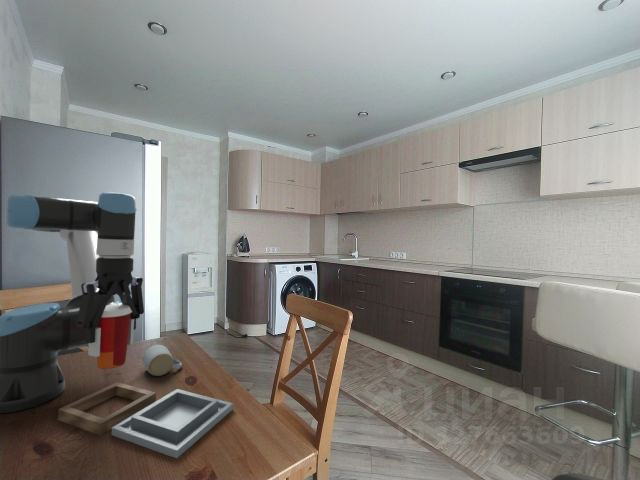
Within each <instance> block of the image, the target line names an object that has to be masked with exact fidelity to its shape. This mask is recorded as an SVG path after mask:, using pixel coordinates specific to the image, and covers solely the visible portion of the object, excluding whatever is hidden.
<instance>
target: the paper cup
mask: <svg viewBox="0 0 640 480" xmlns="http://www.w3.org/2000/svg"><path fill="white" fill-rule="evenodd" d="M131 312H132V310H131V309H130V307H129V306H128V305H122V304H118V305H107V306H106V307H105V309H104V312H103V314H102V316H101V319H100V321H99V324H98V326H97V327H98V328H101V335H100V356H98V357H96V361H97V363H96V364H97V367H98V369H99V370H110V369H115V368H118V367H121V366H123V365H124V364H125V363H126V357H127V350H128V344H127V342H128V332H129V322H130V313H131Z"/></svg>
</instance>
